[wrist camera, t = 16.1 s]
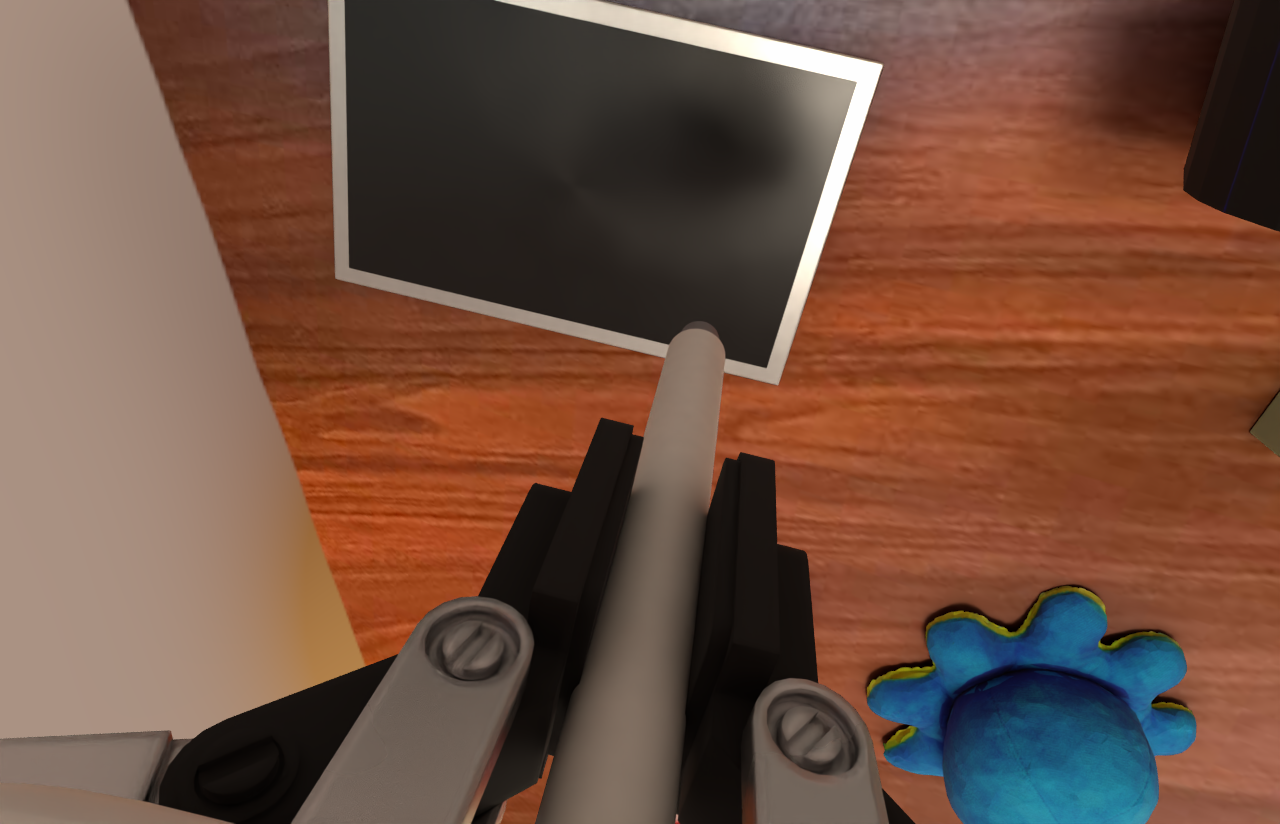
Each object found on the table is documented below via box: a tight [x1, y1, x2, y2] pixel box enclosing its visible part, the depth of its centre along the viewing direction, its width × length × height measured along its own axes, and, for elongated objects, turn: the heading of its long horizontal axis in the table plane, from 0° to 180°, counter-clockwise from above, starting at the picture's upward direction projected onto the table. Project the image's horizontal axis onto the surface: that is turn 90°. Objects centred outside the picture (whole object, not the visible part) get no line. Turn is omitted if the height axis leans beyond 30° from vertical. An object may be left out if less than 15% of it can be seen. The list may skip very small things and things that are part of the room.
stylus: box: [535, 321, 725, 824], centre depth 12 cm, size 1×1×13 cm
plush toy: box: [867, 586, 1196, 824], centre depth 38 cm, size 17×17×8 cm
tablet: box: [328, 0, 884, 385], centre depth 31 cm, size 14×22×1 cm, turn 79°
